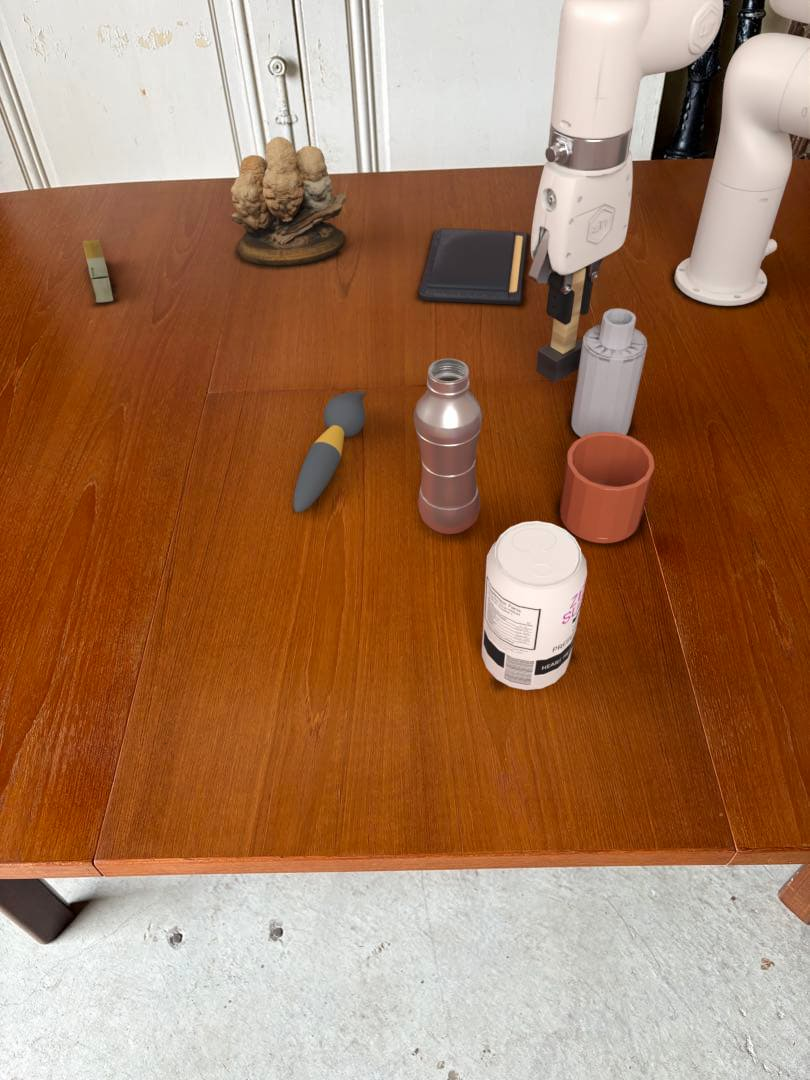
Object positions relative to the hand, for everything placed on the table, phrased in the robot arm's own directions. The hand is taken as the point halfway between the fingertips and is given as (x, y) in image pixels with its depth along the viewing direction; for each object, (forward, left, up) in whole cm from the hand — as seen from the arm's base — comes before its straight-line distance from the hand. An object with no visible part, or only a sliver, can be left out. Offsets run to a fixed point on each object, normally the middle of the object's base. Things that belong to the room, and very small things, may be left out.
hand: (567, 312), depth 90 cm
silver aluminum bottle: (+22, +6, -14) cm, 27 cm away
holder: (+9, +16, -14) cm, 23 cm away
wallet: (-15, -31, -14) cm, 37 cm away
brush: (0, 0, -8) cm, 8 cm away
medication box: (+30, -66, -14) cm, 74 cm away
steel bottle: (-2, +6, -14) cm, 15 cm away
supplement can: (+28, +24, -14) cm, 39 cm away
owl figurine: (+2, -55, -14) cm, 57 cm away
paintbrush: (+26, -10, -14) cm, 31 cm away
